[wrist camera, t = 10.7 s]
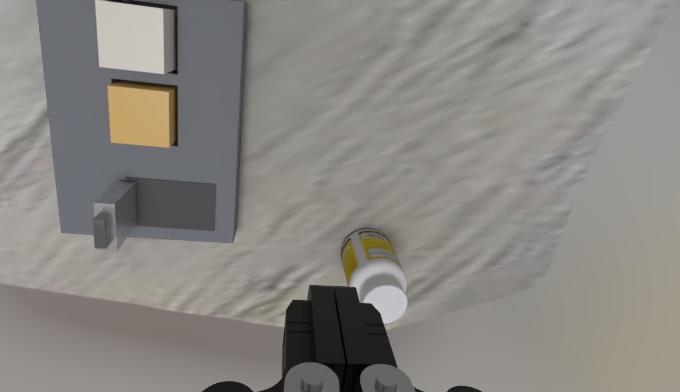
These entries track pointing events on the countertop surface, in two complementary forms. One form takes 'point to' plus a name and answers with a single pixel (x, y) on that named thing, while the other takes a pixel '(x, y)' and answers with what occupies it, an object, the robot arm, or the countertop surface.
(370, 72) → the countertop surface
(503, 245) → the countertop surface
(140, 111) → the amber button
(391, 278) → the supplement bottle
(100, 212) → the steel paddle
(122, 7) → the ivory button
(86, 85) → the panel
